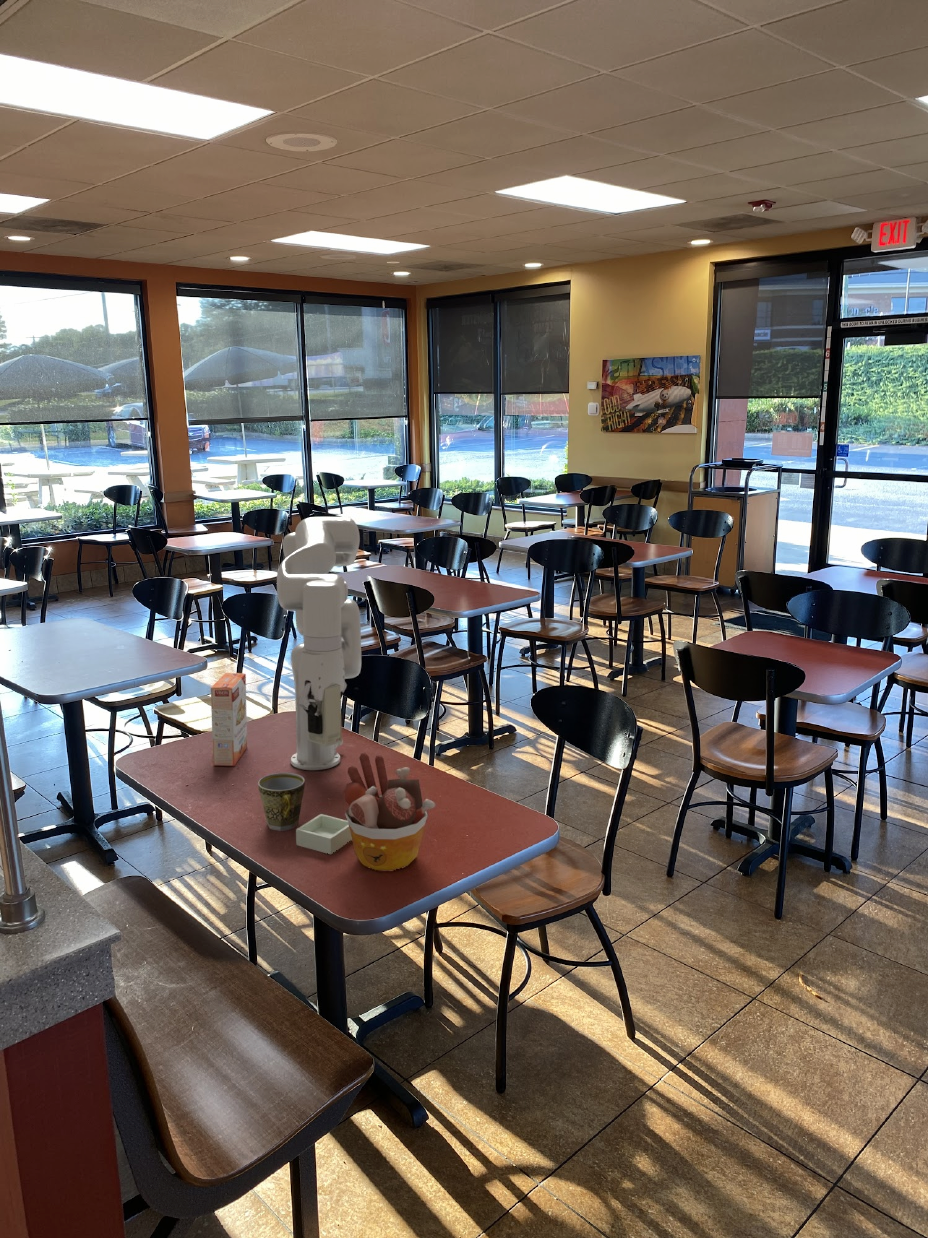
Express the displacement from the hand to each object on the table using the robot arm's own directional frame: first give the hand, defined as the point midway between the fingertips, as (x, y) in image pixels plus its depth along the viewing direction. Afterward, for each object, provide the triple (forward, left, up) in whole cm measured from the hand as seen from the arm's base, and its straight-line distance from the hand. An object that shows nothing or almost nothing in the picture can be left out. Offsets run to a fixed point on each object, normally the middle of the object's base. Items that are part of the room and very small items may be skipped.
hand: (323, 727), depth 189 cm
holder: (0, 0, -25) cm, 25 cm away
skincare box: (0, 0, -3) cm, 3 cm away
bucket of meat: (0, +15, -25) cm, 29 cm away
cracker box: (-27, -50, -25) cm, 62 cm away
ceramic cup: (-1, -12, -25) cm, 28 cm away
